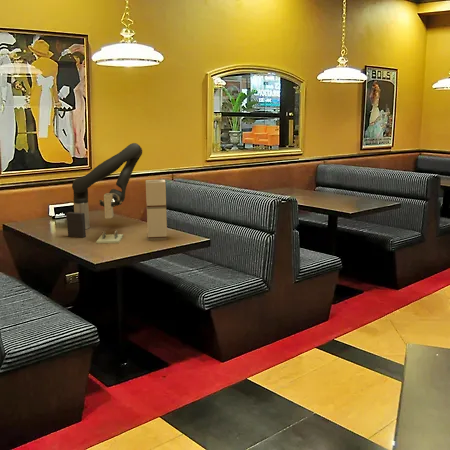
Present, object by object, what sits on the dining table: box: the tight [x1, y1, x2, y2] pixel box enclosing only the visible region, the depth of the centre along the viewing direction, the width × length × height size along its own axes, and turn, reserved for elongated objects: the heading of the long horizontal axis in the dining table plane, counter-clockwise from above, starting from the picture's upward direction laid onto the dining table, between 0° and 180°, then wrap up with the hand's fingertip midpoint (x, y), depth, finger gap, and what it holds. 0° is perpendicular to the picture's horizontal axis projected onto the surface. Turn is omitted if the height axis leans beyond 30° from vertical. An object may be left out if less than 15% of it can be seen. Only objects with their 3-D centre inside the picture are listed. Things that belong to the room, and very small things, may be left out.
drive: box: [103, 192, 114, 219], centre depth 327 cm, size 4×6×14 cm, turn 2°
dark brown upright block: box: [65, 211, 87, 239], centre depth 338 cm, size 11×4×15 cm, turn 71°
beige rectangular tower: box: [145, 179, 168, 241], centre depth 331 cm, size 11×11×35 cm
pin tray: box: [95, 229, 124, 244], centre depth 330 cm, size 13×18×5 cm
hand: (107, 205), depth 324 cm, fingers closed on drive, 4 cm apart
